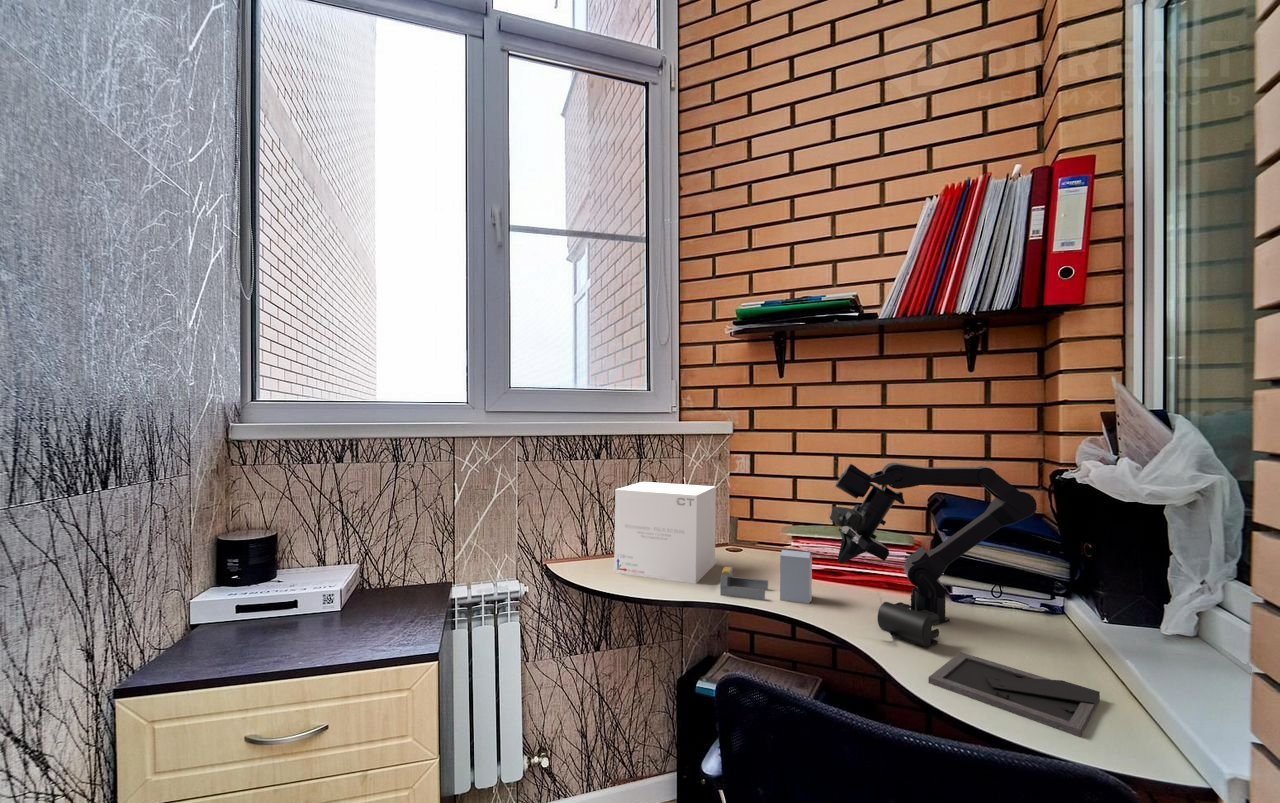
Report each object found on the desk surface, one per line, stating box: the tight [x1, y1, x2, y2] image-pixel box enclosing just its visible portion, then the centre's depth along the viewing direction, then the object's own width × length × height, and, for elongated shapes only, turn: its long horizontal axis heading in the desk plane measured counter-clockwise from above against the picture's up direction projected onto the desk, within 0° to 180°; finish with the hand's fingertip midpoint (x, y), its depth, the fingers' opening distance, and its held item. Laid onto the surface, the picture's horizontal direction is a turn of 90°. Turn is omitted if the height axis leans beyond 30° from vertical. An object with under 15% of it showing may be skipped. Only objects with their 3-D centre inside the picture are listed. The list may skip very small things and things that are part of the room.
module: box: [779, 549, 813, 604], centre depth 135 cm, size 7×6×11 cm
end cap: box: [876, 601, 941, 649], centre depth 114 cm, size 10×7×7 cm
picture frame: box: [928, 651, 1101, 738], centre depth 92 cm, size 16×2×21 cm
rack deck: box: [719, 566, 769, 601], centre depth 137 cm, size 24×10×7 cm, turn 72°
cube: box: [613, 481, 717, 585], centre depth 164 cm, size 25×21×24 cm
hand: (839, 562), depth 132 cm, fingers closed
